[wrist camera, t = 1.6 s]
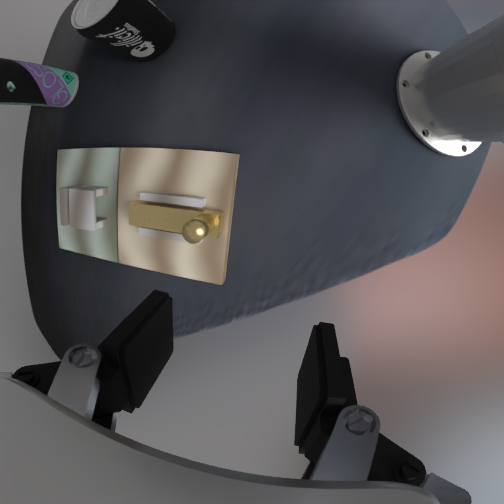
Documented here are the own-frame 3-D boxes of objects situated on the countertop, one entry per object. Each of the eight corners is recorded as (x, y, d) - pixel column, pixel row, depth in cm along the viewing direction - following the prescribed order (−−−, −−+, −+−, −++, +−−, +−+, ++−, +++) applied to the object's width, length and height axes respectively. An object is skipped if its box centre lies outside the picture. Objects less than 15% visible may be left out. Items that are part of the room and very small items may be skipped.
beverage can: (133, 71, 25) (66, 45, 14) (127, 33, 23) (68, 1, 12) (182, 49, 24) (127, 5, 12) (173, 11, 22) (124, -36, 11)
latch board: (239, 154, 27) (229, 153, 23) (225, 279, 32) (214, 298, 27) (65, 149, 29) (41, 151, 25) (66, 244, 34) (45, 254, 30)
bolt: (224, 211, 27) (210, 221, 23) (221, 234, 28) (207, 248, 24) (137, 199, 28) (112, 207, 24) (137, 220, 29) (113, 231, 24)
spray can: (79, 99, 27) (-45, 91, 8) (54, 113, 28) (-60, 115, 9) (79, 66, 25) (-35, 44, 6) (55, 81, 26) (-52, 72, 7)
